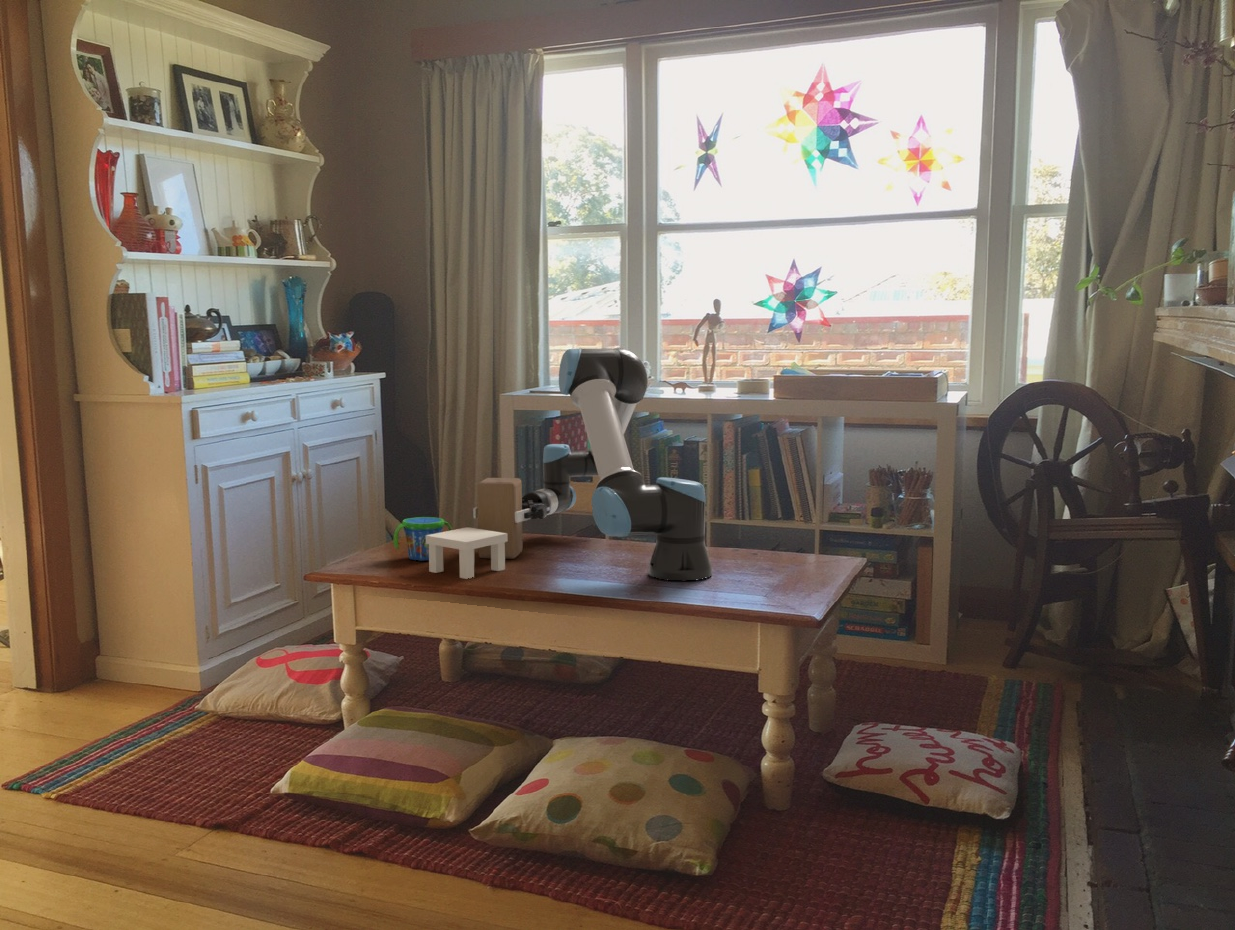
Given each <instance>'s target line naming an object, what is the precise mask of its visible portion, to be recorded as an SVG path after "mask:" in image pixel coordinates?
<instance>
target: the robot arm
mask: <svg viewBox="0 0 1235 930" xmlns="http://www.w3.org/2000/svg"><path fill="white" fill-rule="evenodd" d="M648 383H649V382H648V373H647V370H646V367H645V365H644V364H643V362H642V360H641V359H640V357H638V356H637V355H636V354H635V353H633V352H632V351H630V350H628V349H624V348H622V347H621V348H620V347H617V348H616V347H615V348H583V347H579V348H569V349H567V350H565V351H564V353H563V354H562V357H561V360H560V364H559V370H558V388H559V392H560V393H561V394H562V395H565V396H568V395H570V399H571V402H572V404H573V405H574V406H575V407H577V408H579V409H580V410H579V411H580V414H581V417H582V421H583V425H584V427H585V432H586V436H587V438H588V442H589V445H590V447H589V449H584V450H583V449H582V450H581V449H580V450H577V449H576V450H571V448H570V445H569V444H565V443H552V444H547V445H545V446H544V448H543V459H542V464H543V470H542V471H543V488H540V489H537V490H533V491H529V492H526V493H525V494H524V495H522V510H521V511H517V512H515V523H518V522H522V523H523V522H524V521H528V520H537V519H540V520H543V519H545V518H546V517H547V516H549V515H553V514H558V513H563V512H565V511H567V510H569V509H571V508H572V507H574V506H575V503H576V501H577V493H576V490H575V489H574V487H573V486H571V481H570V480H571V478H575V477H598V479H599V481H598V482H597V484H596V485H595V489H594V491H593V493H592V495H591V507H592V510H591V511H592V517H593V519H594V522H595V524H596V527H597V528H598V530H599V531H600V533H602V534H604V535H605V536H608V537H620V538H624V537H625V538H626V537H628V536H631V537H632V536H642V535H653V534H654V535H656V536H655V537H656V538H655V539H656V541H655V546H654V548H653V552H652V555H651V557H650V558H651V559H650V561H649V564H648V575H649V576H650V577H652V578H654V577H656V578H655V579H657V578H660V579H659V580H661V579H666V580H665V581H668V580H696V579H702V578H705V577H709V578H710V576H711V577H712V575H713V572H712V571H713V569H712V568H713V566H712V563H711V560H710V556H709V553H708V550H707V546H706V542H705V541H706V537H705V536H706V503H707V501H706V490H705V486H704V485H703V484H702V483H701V482H698V481H694V480H689V479H682V478H674V477H662V476H661V477H658V478H656V481H655V484H646V482H645V480H644V477H643V475H642V474H641V472H639V471H637V470H635V469H634V466H633V463H632V459H631V456H630V452H629V449H628V446H627V441H626V439H625V434H626V430H627V428H628V426H629V423H630V421H631V418H632V416H633V414H634V411H635V409H636V406H637V404H639V403H640V402H641V401H642V400H643V399H644V397H645V394H646V392H647V388H648ZM472 512H473V513H472V515H473V517H472V518H473V519H475V520H476V519H477V520H478V506H476V507H473V508H472ZM667 579H668V580H667ZM702 580H703V579H702ZM696 581H697V580H696Z"/></svg>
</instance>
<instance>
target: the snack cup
mask: <svg viewBox="0 0 1235 930" xmlns="http://www.w3.org/2000/svg"><path fill="white" fill-rule="evenodd" d="M444 525H446V527H447V528H448V531H451V530H453V528H452V526H451V524H450V523H449V522H448V521H445V519H443V518H440V517H434V516H432V517H431V516H419V517H418V516H416V517H410V518H404V519H403V520H402V522H401V523H400V524H398V526H397V527H396V528H395V530H394V532H393V539H392V540H393V545H394V548H395V549H398V550H399V549H400V548H399V547H400V546H399V532H400V531H401V530H402V529H403V531H404V534H405V541H406V545H407V546H406V547H407V553H408V558H409V559H410V560H412V561H416V560H418V561H421V562H422V561H423V562H424V561H429V544H426V535H430V534H435V533H440V532H443V529H444Z"/></svg>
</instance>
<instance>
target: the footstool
mask: <svg viewBox="0 0 1235 930" xmlns="http://www.w3.org/2000/svg"><path fill="white" fill-rule="evenodd" d="M507 541H508V534H507V533H501V532H495V531H488V530H482V529H478V528H476V527H470V526H469V527H468V526H467V527H461V528H458V529H452V530H451V531H449V530H446V531H442V532H440V533H435V534H430V535H426V544H429V560H428V572H431V573H434V574H435V573H436V574H437V573H441V572H444V548H451V549H454V550H458V555H459V557H458V558H459V560H458V561H459V578H460V579H464V580H469V579H473V578H475V562H476V561H475V549H478V548H480V547H485V546H489V545H491V558H490V568H491V569H490V570H491V571H494V572H495V571H496V572H501V571H504V570H506V559H505V542H507ZM472 577H473V578H472ZM468 578H469V579H468Z"/></svg>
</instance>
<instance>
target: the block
mask: <svg viewBox="0 0 1235 930" xmlns="http://www.w3.org/2000/svg"><path fill="white" fill-rule="evenodd" d="M476 487H477V488H476V490H477V493H476V495H477V507H478V518H477V529H482V530H488V531H495V532H501V533H507V534H508V541H507V542H505V560H506V559H507V560H514V559H516V558H517V557H518V556H519V555H520V554H521V553H522V552H523V521H522V522H518V523H515V512H517V511H521V510H522V497H523V485H522V480H521V478H518V477H485V478H484V479H483V480H481V481H479V482H478V483H477V486H476ZM477 549H478V557H479V558H481V559H491V545H489V546H485V547H480V548H477Z"/></svg>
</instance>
